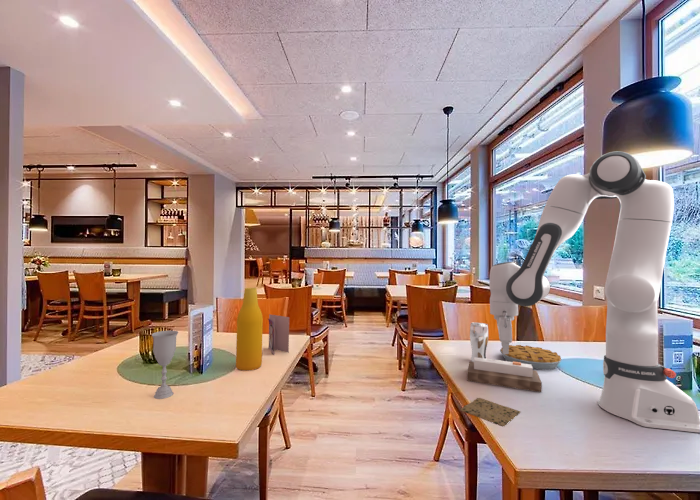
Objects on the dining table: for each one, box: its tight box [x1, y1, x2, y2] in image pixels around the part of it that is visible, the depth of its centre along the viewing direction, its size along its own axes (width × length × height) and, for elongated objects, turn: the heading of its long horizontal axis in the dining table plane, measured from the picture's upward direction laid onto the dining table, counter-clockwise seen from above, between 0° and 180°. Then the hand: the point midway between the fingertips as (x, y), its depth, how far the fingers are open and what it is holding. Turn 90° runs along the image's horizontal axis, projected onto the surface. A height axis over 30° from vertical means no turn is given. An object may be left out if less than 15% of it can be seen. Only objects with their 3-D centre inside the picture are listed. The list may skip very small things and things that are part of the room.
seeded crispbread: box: [460, 397, 521, 427], centre depth 90 cm, size 12×12×1 cm
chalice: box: [151, 330, 179, 400], centre depth 96 cm, size 7×7×18 cm
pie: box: [499, 344, 562, 371], centre depth 134 cm, size 22×22×5 cm
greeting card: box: [267, 314, 290, 356], centre depth 142 cm, size 11×7×15 cm, turn 25°
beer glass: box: [469, 322, 489, 362], centre depth 133 cm, size 7×7×15 cm
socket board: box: [466, 361, 543, 393], centre depth 113 cm, size 22×12×3 cm, turn 67°
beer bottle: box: [235, 287, 264, 372], centre depth 122 cm, size 9×9×29 cm
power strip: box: [474, 357, 534, 377], centre depth 113 cm, size 18×4×6 cm, turn 67°
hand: (504, 349), depth 113 cm, fingers open, 8 cm apart
